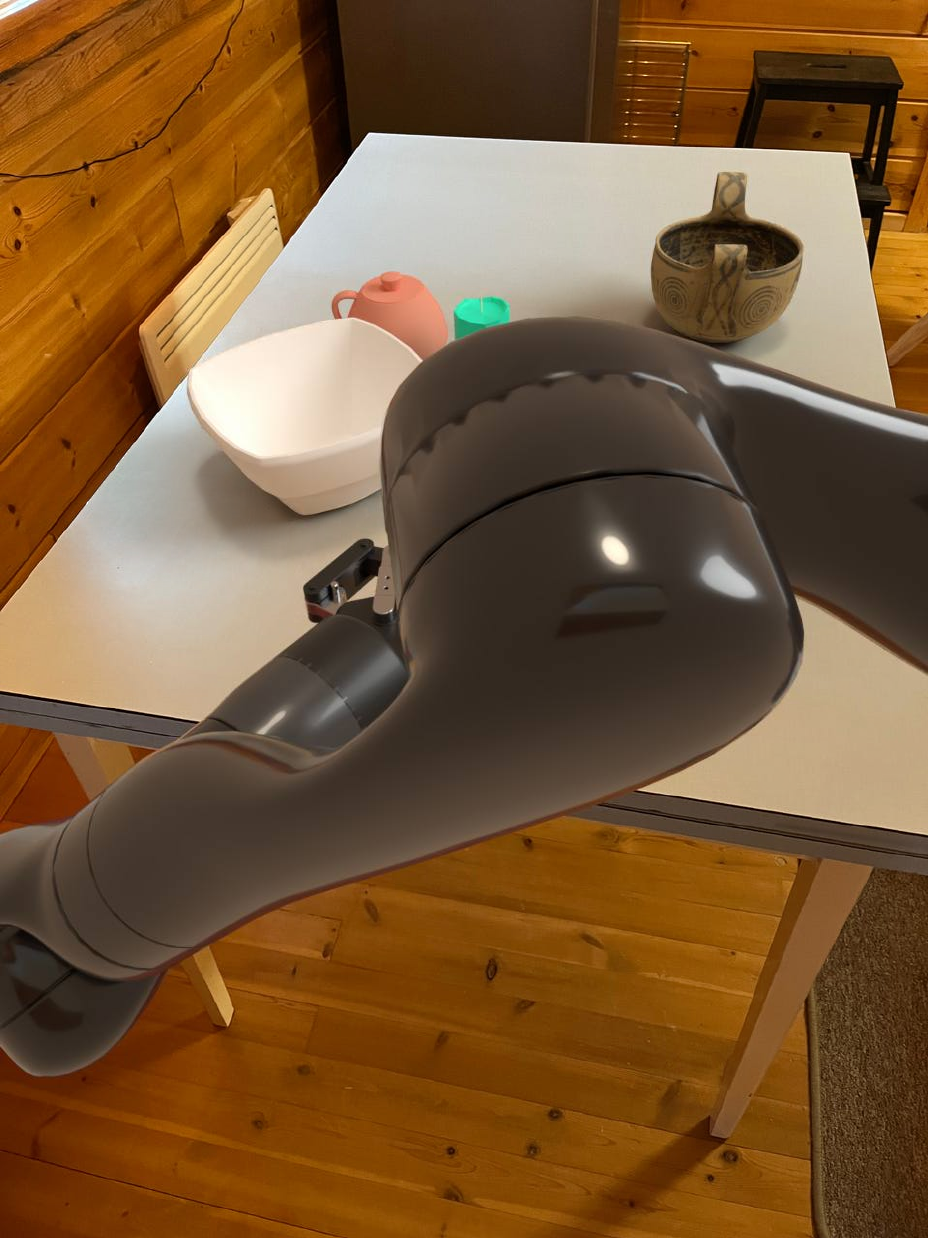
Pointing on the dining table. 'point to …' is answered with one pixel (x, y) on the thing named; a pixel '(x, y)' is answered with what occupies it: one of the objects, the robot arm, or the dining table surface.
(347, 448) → the bowl
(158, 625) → the dining table surface
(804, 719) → the dining table surface
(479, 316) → the candle
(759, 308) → the ceramic bowl
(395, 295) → the sugar bowl
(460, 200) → the dining table surface
